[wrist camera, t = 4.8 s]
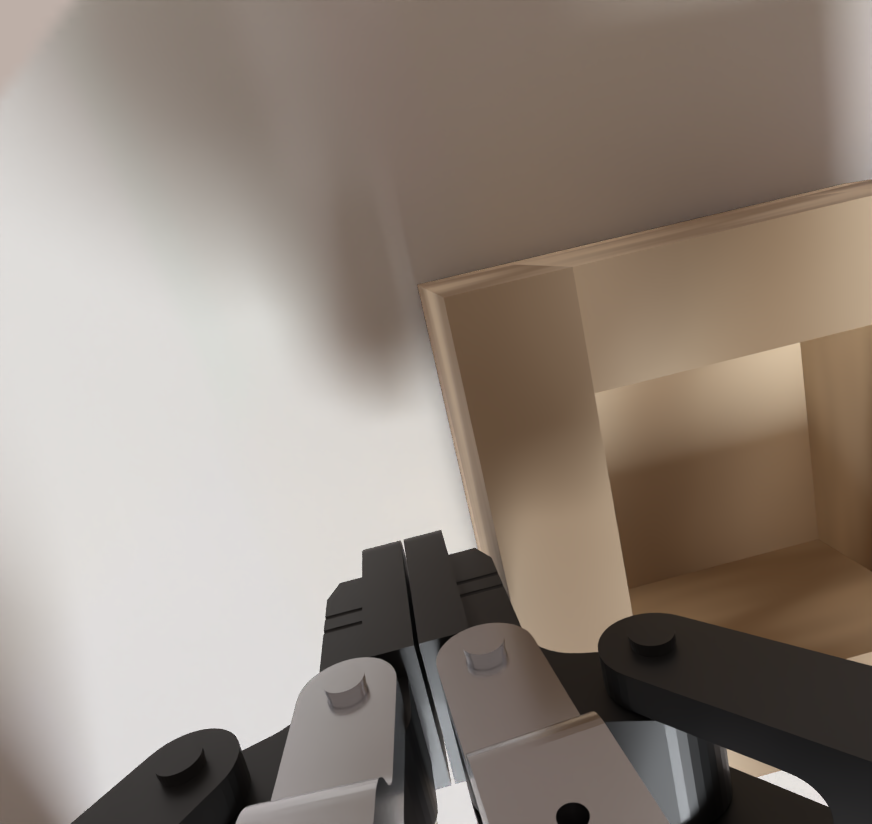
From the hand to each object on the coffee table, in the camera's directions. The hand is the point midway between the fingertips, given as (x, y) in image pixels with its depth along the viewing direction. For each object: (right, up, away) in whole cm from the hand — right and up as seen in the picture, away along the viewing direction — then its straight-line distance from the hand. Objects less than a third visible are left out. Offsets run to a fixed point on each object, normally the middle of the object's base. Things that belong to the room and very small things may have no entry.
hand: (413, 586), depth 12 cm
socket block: (+6, +3, +4) cm, 8 cm away
